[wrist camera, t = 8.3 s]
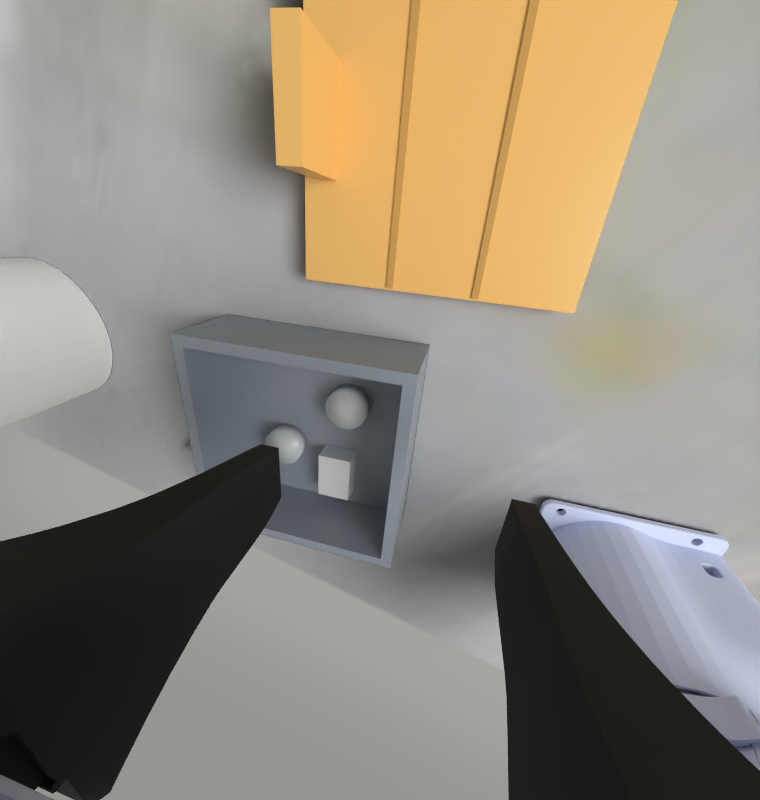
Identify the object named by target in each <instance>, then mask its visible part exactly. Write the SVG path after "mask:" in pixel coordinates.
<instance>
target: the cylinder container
mask: <svg viewBox="0 0 760 800" xmlns="http://www.w3.org/2000/svg"><path fill="white" fill-rule="evenodd" d="M112 359H113V357H112V348H111V343H110V339H109V336H108V333H107V330H106V328H105V325H104V323H103V321H102V319H101V317H100V315H99V314H98V312H97V310H96V309H95V307H94V306H93V304H92V303H91V301H90V300H89V299H88V297H87V296H86V295H85V294H84V292H83V291H82V290H81V289H80V288H79V287H78V286H77V285H76V284H75V283H74V282H73V281H72V280H71V279H70V278H68V277H67V276H66V275H65V274H63V273H62V272H61V271H59V270H58V269H56V268H54V267H53V266H51V265H49V264H47V263H45V262H42V261H39V260H36V259H33V258H23V257H22V258H2V259H0V429H1V428H4V427H6V426H8V425H11V424H13V423H16V422H18V421H21V420H23V419H25V418H28V417H30V416H33V415H35V414H38V413H40V412H42V411H45V410H47V409H50V408H52V407H55V406H57V405H59V404H62V403H64V402H67V401H69V400H72V399H74V398H76V397H79V396H81V395H84V394H86V393H89V392H91V391H93V390H96V389H98V388H100V387H101V386H102V385H103V384H104V383H105V382H106V381H107V379H108V378H109V376H110V373H111V369H112Z"/></svg>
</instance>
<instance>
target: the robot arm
mask: <svg viewBox="0 0 760 800" xmlns="http://www.w3.org/2000/svg"><path fill="white" fill-rule="evenodd" d="M280 499H281V480H280V462H279V448H277V447H272V446H268V445H263V444H260V445H258V446H256V447H254V448H251V449H249V450H247V451H245V452H243V453H241V454H239V455H237V456H235V457H233V458H231V459H229V460H227V461H225V462H223V463H221V464H219V465H217V466H215V467H213V468H211V469H209V470H207V471H205V472H203V473H201V474H199V475H196V476H194V477H192V478H190V479H188V480H185V481H183V482H181V483H179V484H176V485H174V486H172V487H170V488H167V489H165V490H163V491H161V492H158V493H156V494H153V495H151V496H148V497H146V498H144V499H141V500H138V501H136V502H133V503H130V504H127V505H125V506H122V507H120V508H117V509H114V510H111V511H108V512H104V513H101V514H98V515H95V516H92V517H88V518H85V519H82V520H79V521H76V522H72V523H70V524H66V525H63V526H59V527H55V528H52V529H48V530H44V531H41V532H37V533H33V534H29V535H25V536H21V537H17V538H13V539H9V540H5V541H0V800H54V799H52V798H49V797H47V796H45V795H43V794H41V793H39V792H37V791H35V789H36V788H37V787H40V788H42V789H44V790H46V791H48V792H51V793H54V792H56V791H57V792H59V793H61V794H63V795H65V796H68V797H70V798H72V799H74V800H100V799H102V798H103V797H104V796H105V795H107V794H108V793H109V792H110V791H111V789H112V787H113V785H114V783H115V780H116V779H117V777H118V775H119V773H120V771H121V768H122V767H123V765H124V762H125V760H126V759H127V757H128V755H129V753H130V751H131V748H132V747H133V745H134V742H135V740H136V738H137V737H138V735H139V732H140V731H141V729H142V726H143V725H144V723H145V721H146V719H147V717H148V715H149V713H150V711H151V709H152V707H153V705H154V704H155V702H156V700H157V698H158V696H159V694H160V692H161V690H162V689H163V687H164V685H165V683H166V681H167V679H168V677H169V675H170V673H171V672H172V670H173V668H174V666H175V665H176V663H177V661H178V659H179V657H180V656H181V654H182V652H183V650H184V649H185V647H186V645H187V643H188V642H189V640H190V638H191V636H192V634H193V633H194V631H195V629H196V628H197V626H198V624H199V623H200V621H201V619H202V618H203V616H204V614H205V613H206V611H207V609H208V608H209V606H210V604H211V602H212V601H213V600H214V598H215V596H216V595H217V594H218V592H219V591H220V589H221V588H222V586H223V585H224V583H225V582H226V581H227V579H228V578H229V577H230V575H231V574H232V572H233V571H234V570H235V568H236V567H237V565H238V564H239V563H240V561H241V560H242V559H243V557H244V556H245V554H246V553H247V552H248V550H249V549H250V548H251V546H252V545H253V543H254V542H255V541H256V539H257V538H258V536H259V535H260V534H261V532H262V531H263V529H264V528H265V526H266V525H267V523H268V521H269V520H270V518H271V516H272V514H273V512H274V511H275V509H276V507H277V505H278V503H279V501H280ZM558 509H563V510H562V511H557V510H558ZM696 538H697V539H696ZM693 539H696V540H693ZM728 547H729V544H728V542H727V541H726V540H725V539H724V538H723V537H722V536H719V535H715V534H711V533H706V532H702V531H697V530H692V529H688V528H683V527H678V526H674V525H669V524H664V523H660V522H655V521H651V520H646V519H641V518H637V517H632V516H627V515H623V514H618V513H613V512H609V511H604V510H599V509H595V508H590V507H586V506H581V505H576V504H572V503H567V502H562V501H558V500H552V499H549V500H546V501H544V502H543V503H542V505H541V508H540V510H538V508H537V507H536V505H535V504H532V503H527V502H523V501H518V500H514V499H512V501H511V504H510V507H509V510H508V513H507V516H506V519H505V522H504V525H503V528H502V531H501V534H500V537H499V540H498V543H497V546H496V549H495V590H496V600H497V609H498V618H499V626H500V635H501V644H502V653H503V661H504V670H505V681H506V693H507V726H508V727H507V728H508V782H509V784H508V785H509V800H760V605H759V604H758V602H757V601H756V600H755V598H754V597H753V596H752V595H751V593H750V592H749V591H748V589H747V588H746V587H745V586H744V584H743V583H742V582H741V580H740V579H739V578H738V576H737V575H736V574H735V573H734V571H733V570H732V569H731V567H730V566H729V565H728V564H727V562H726V561H725V560H724V558H723V557H722V555H723V554H724V553H725V551H726V550H727V549H728Z"/></svg>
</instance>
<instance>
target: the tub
mask: <svg viewBox="0 0 760 800" xmlns="http://www.w3.org/2000/svg"><path fill="white" fill-rule="evenodd" d="M170 339H171V344H172V349H173V354H174V360H175V365H176V370H177V375H178V381H179V386H180V391H181V396H182V402H183V407H184V412H185V417H186V423H187V428H188V433H189V438H190V444H191V449H192V454H193V459H194V465H195V470H196V475H199V474H201V473H203V472H205V471H207V470H209V469H211V468H213V467H215V466H217V465H219V464H221V463H223V462H225V461H227V460H229V459H231V458H233V457H235V456H237V455H239V454H241V453H243V452H245V451H247V450H249V449H251V448H254V447H256V446H258V445H260V444H263V445H268V446H272V447H277V448H279V462H280V480H281V499H280V501H279V503H278V505H277V507H276V509H275V511H274V512H273V514H272V516H271V518H270V520H269V521H268V523H267V525H266V526H265V528H264V529H263V531H262V532H261V534H262V535H266V536H269V537H273V538H277V539H281V540H284V541H288V542H292V543H295V544H299V545H303V546H307V547H310V548H314V549H318V550H321V551H325V552H329V553H333V554H336V555H340V556H344V557H347V558H351V559H355V560H359V561H362V562H366V563H370V564H374V565H377V566H381V567H385V568H388V569H390V568H391V564H392V560H393V555H394V551H395V547H396V543H397V539H398V535H399V531H400V527H401V523H402V519H403V515H404V509H405V502H406V496H407V489H408V483H409V476H410V470H411V464H412V457H413V451H414V444H415V438H416V431H417V425H418V418H419V412H420V405H421V399H422V392H423V386H424V379H425V373H426V366H427V360H428V353H429V347H430V345H427V344H420V343H414V342H407V341H400V340H394V339H387V338H381V337H374V336H367V335H361V334H354V333H348V332H341V331H334V330H328V329H321V328H315V327H308V326H301V325H295V324H288V323H282V322H275V321H269V320H262V319H255V318H249V317H242V316H236V315H229V314H227V315H224V316H221V317H218V318H215V319H212V320H209V321H206V322H203V323H200V324H197V325H193V326H190V327H187V328H184V329H181V330H178V331H175V332H172V333H170Z"/></svg>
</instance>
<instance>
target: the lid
mask: <svg viewBox="0 0 760 800" xmlns="http://www.w3.org/2000/svg"><path fill="white" fill-rule="evenodd" d="M677 2H678V0H303V10H302V9H301V7H297V8H270V22H271V47H272V72H273V96H274V121H275V146H276V165H277V166H280V167H283V168H286V169H288V170H291V171H294V172H297V173H299V174H302V175H305V238H306V279H307V280H315V281H322V282H330V283H338V284H346V285H354V286H362V287H370V288H378V289H385V290H393V291H401V292H409V293H417V294H425V295H433V296H441V297H449V298H456V299H464V300H472V301H480V302H488V303H496V304H504V305H512V306H519V307H527V308H535V309H543V310H551V311H559V312H567V313H574V312H575V309H576V306H577V303H578V300H579V297H580V294H581V291H582V288H583V285H584V282H585V279H586V276H587V273H588V270H589V267H590V264H591V261H592V258H593V255H594V252H595V249H596V246H597V243H598V240H599V237H600V234H601V231H602V228H603V225H604V222H605V219H606V216H607V213H608V210H609V207H610V204H611V201H612V198H613V195H614V192H615V189H616V186H617V183H618V180H619V177H620V174H621V171H622V168H623V165H624V162H625V159H626V156H627V153H628V149H629V146H630V143H631V140H632V137H633V134H634V131H635V128H636V125H637V122H638V119H639V116H640V113H641V110H642V107H643V104H644V101H645V98H646V95H647V92H648V89H649V86H650V83H651V80H652V77H653V74H654V71H655V68H656V65H657V62H658V59H659V56H660V53H661V50H662V47H663V44H664V41H665V38H666V35H667V32H668V29H669V26H670V23H671V20H672V17H673V14H674V11H675V8H676V5H677Z"/></svg>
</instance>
